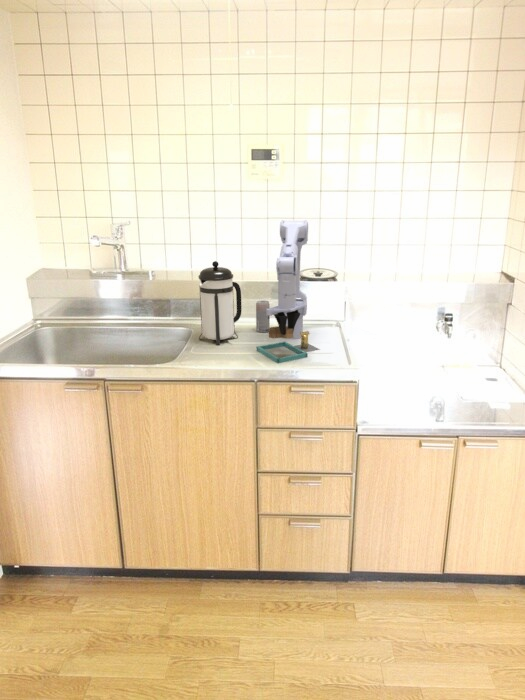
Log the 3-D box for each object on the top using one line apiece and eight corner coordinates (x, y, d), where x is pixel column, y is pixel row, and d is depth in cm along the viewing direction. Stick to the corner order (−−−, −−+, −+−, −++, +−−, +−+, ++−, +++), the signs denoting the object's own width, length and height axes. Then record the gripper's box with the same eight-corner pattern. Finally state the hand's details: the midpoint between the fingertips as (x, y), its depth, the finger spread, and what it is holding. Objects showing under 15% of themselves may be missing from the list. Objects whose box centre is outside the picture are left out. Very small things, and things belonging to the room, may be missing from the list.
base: (289, 349, 185) (289, 346, 185) (307, 345, 189) (307, 343, 188) (301, 355, 178) (301, 353, 178) (320, 352, 182) (320, 349, 182)
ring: (265, 337, 179) (264, 328, 178) (282, 334, 182) (282, 325, 181) (281, 339, 169) (280, 330, 169) (299, 336, 172) (298, 327, 172)
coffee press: (239, 345, 190) (237, 264, 180) (196, 345, 191) (191, 264, 181) (242, 331, 207) (240, 256, 197) (202, 332, 207) (198, 257, 197)
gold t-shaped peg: (298, 347, 184) (298, 331, 182) (306, 346, 185) (306, 330, 183) (302, 349, 182) (302, 333, 180) (310, 348, 183) (310, 332, 181)
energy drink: (270, 329, 210) (269, 300, 206) (269, 333, 205) (268, 303, 201) (257, 329, 210) (256, 300, 206) (255, 332, 205) (255, 303, 201)
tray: (256, 353, 182) (256, 346, 181) (284, 347, 187) (284, 341, 186) (277, 366, 169) (277, 359, 169) (307, 359, 175) (307, 353, 174)
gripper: (273, 298, 161) (273, 339, 166) (312, 293, 168) (311, 333, 172) (263, 294, 167) (263, 334, 172) (300, 289, 174) (300, 328, 178)
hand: (286, 333), depth 172 cm, fingers closed on ring, 2 cm apart
